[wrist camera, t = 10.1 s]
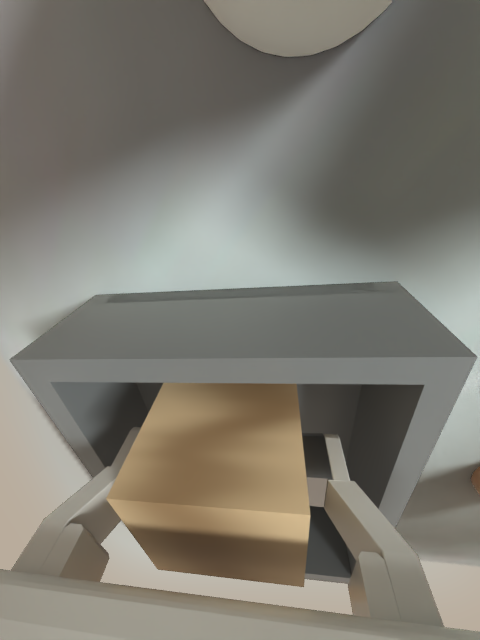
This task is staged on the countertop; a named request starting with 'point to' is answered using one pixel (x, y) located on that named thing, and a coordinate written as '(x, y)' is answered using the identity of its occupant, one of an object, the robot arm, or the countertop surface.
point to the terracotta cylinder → (476, 480)
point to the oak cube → (219, 482)
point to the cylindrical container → (295, 22)
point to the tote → (264, 377)
